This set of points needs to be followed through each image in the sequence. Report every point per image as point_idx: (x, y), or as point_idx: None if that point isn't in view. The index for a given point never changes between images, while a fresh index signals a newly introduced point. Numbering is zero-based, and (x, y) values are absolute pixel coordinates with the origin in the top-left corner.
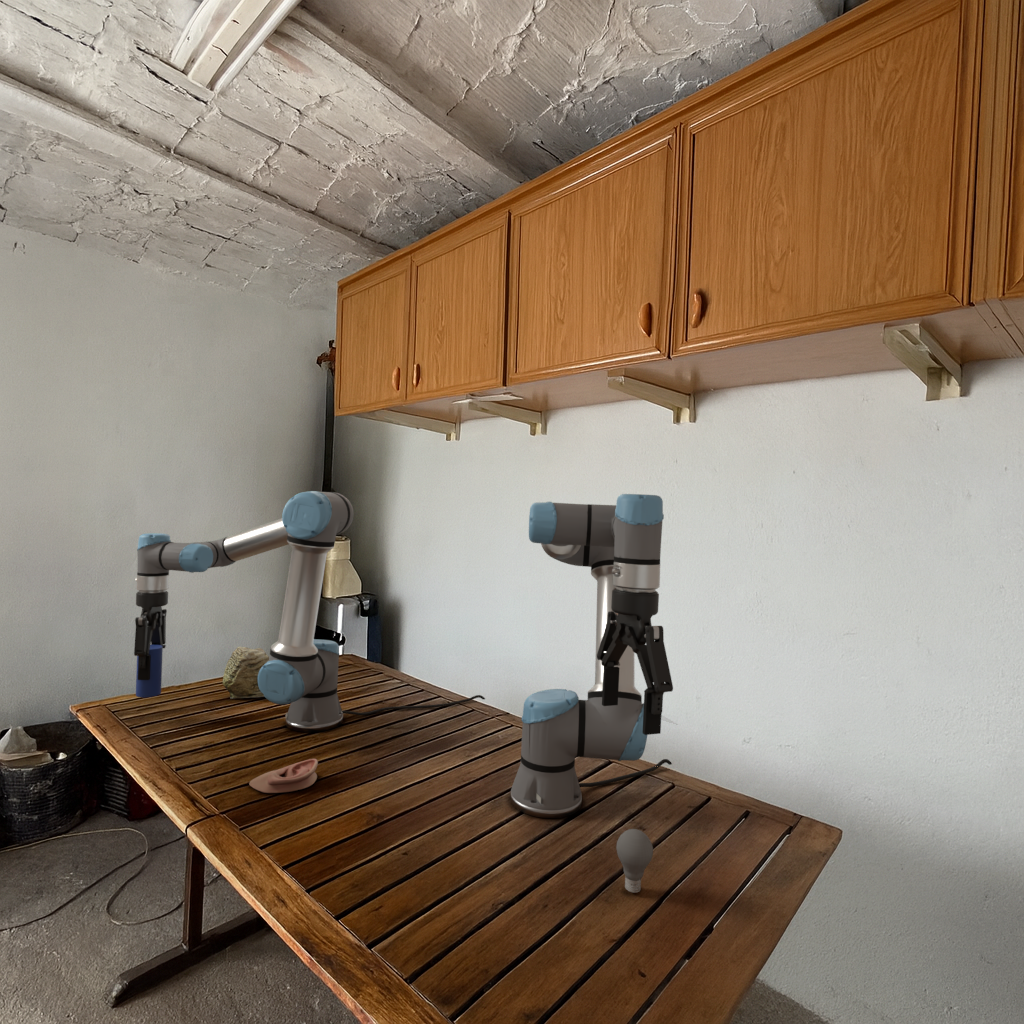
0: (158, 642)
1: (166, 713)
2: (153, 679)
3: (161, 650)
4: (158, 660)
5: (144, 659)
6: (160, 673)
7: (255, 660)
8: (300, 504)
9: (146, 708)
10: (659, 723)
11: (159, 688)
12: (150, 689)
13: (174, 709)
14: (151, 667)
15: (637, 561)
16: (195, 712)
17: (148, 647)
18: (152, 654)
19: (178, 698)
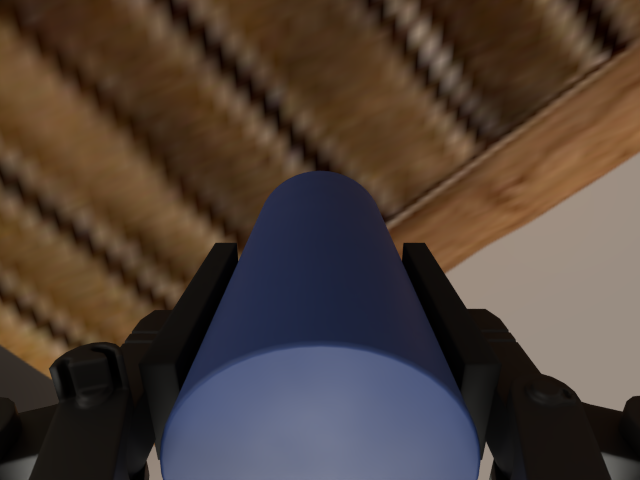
0: (125, 471)
1: (207, 160)
2: (379, 224)
3: (325, 313)
4: (371, 265)
5: (535, 367)
6: (326, 208)
7: None
8: None
9: (159, 260)
10: None
11: (329, 180)
12: (380, 215)
13: (152, 147)
14: (409, 279)
15: None
16: (177, 30)
17: (588, 469)
18: (442, 354)
19: (8, 189)
